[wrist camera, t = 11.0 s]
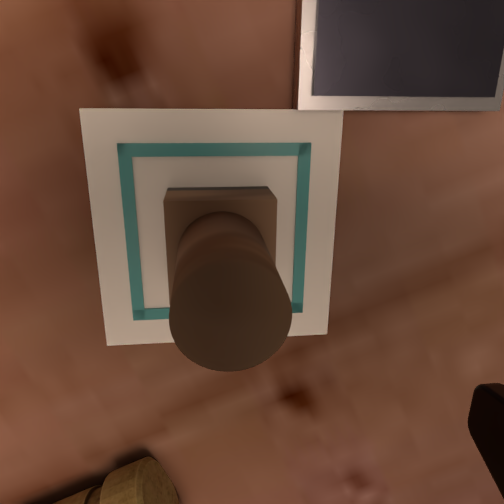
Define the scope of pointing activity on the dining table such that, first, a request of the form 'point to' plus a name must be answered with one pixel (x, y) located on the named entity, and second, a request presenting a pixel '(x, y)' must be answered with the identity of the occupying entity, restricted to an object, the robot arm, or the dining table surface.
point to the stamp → (224, 275)
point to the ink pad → (399, 55)
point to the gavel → (130, 486)
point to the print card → (207, 175)
